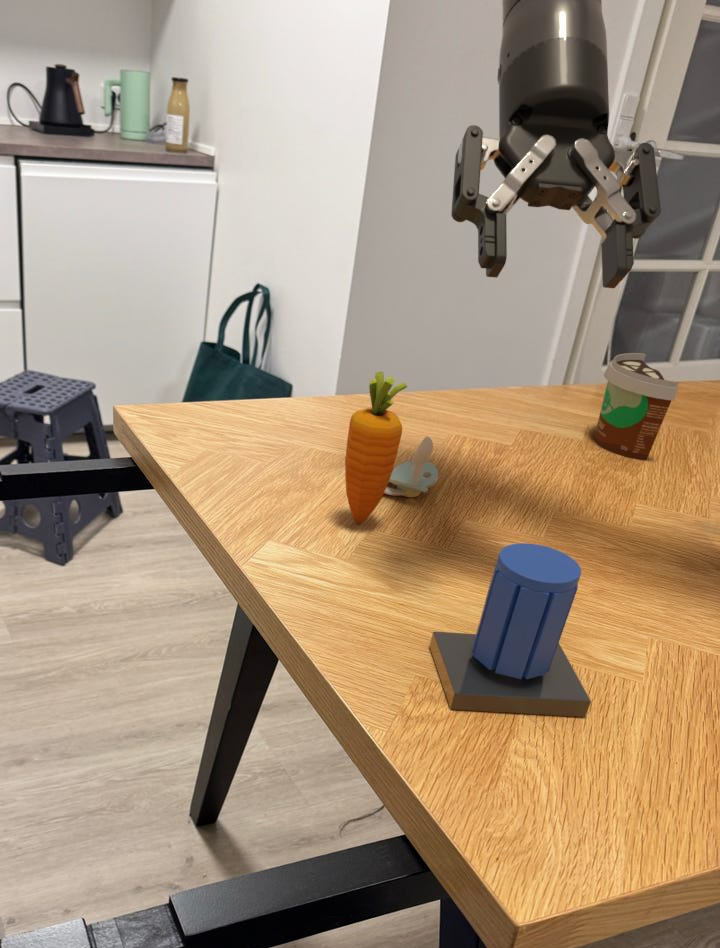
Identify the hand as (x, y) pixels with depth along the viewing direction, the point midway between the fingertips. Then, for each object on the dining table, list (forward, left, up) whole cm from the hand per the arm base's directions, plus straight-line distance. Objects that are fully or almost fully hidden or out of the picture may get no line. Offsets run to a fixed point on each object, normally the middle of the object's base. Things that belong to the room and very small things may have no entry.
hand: (556, 276), depth 62 cm
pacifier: (+2, -22, -27) cm, 35 cm away
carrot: (+8, -13, -27) cm, 31 cm away
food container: (-28, -41, -27) cm, 57 cm away
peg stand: (0, +12, -27) cm, 29 cm away
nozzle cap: (0, +12, -24) cm, 27 cm away
